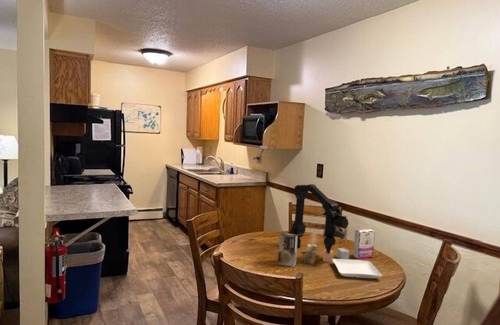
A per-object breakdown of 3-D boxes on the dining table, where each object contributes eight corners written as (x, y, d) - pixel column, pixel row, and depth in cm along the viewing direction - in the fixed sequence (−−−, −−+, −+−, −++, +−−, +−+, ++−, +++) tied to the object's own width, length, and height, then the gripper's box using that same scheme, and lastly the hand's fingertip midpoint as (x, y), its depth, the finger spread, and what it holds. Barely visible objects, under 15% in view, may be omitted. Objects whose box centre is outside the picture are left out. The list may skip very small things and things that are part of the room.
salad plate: (330, 263, 194) (331, 257, 194) (369, 266, 194) (369, 260, 194) (339, 279, 173) (339, 272, 173) (382, 282, 173) (382, 275, 173)
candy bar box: (367, 255, 212) (369, 228, 211) (373, 257, 208) (375, 230, 206) (352, 256, 208) (354, 229, 207) (357, 259, 203) (360, 231, 202)
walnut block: (303, 262, 193) (304, 253, 192) (306, 260, 197) (307, 251, 197) (312, 264, 191) (313, 255, 190) (315, 261, 195) (315, 253, 195)
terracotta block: (323, 261, 197) (323, 252, 197) (322, 258, 202) (323, 249, 202) (332, 262, 196) (332, 253, 196) (331, 259, 201) (332, 250, 201)
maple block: (308, 255, 206) (308, 246, 206) (307, 252, 211) (307, 244, 211) (316, 255, 206) (317, 247, 206) (315, 252, 211) (315, 244, 211)
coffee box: (296, 263, 191) (298, 234, 190) (293, 267, 185) (296, 237, 184) (280, 260, 194) (282, 232, 193) (277, 264, 188) (279, 235, 187)
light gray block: (341, 259, 201) (341, 251, 201) (336, 256, 206) (337, 248, 206) (348, 259, 202) (349, 251, 202) (344, 256, 207) (345, 248, 207)
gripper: (346, 230, 187) (343, 258, 188) (343, 222, 205) (341, 247, 206) (324, 227, 189) (322, 255, 190) (324, 220, 207) (322, 245, 208)
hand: (328, 251), depth 199 cm, fingers open, 9 cm apart
